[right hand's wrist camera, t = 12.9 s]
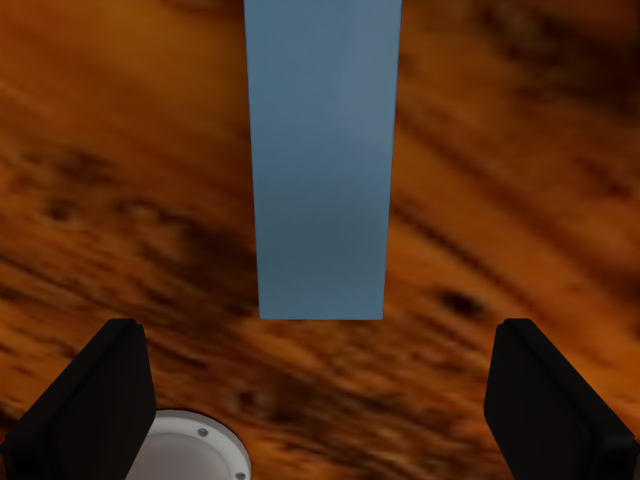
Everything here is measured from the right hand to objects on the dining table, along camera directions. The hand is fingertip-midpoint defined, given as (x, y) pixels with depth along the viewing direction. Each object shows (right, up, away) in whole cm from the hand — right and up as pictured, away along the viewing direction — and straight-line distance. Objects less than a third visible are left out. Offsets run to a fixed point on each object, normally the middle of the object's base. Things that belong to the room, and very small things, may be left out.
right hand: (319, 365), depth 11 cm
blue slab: (0, +13, +15) cm, 20 cm away
